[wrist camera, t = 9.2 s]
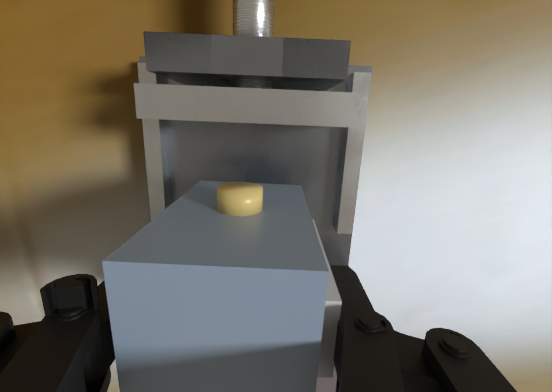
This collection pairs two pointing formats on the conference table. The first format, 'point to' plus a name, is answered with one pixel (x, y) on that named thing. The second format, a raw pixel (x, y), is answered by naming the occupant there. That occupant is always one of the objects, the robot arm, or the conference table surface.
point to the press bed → (258, 125)
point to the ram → (247, 91)
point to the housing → (220, 293)
